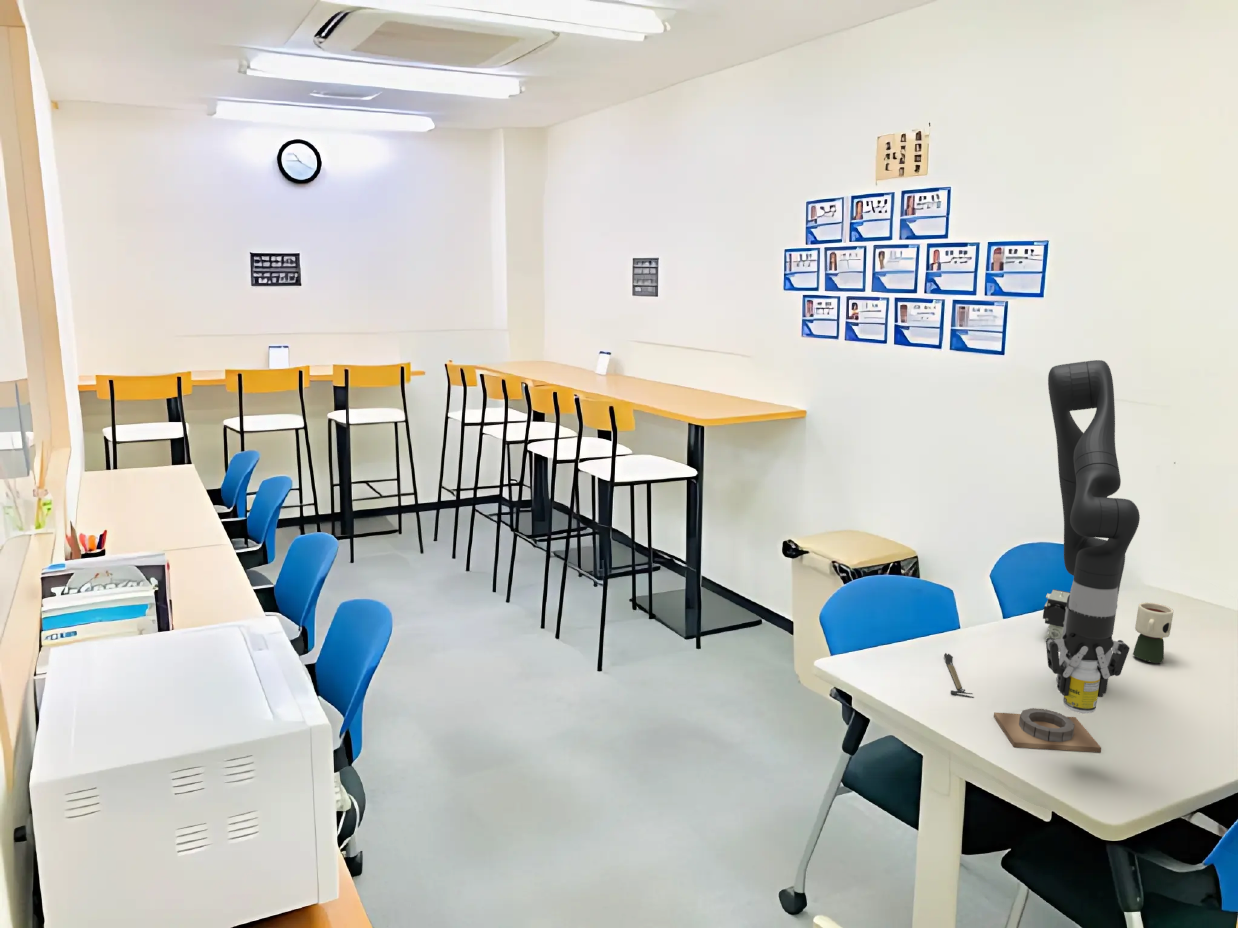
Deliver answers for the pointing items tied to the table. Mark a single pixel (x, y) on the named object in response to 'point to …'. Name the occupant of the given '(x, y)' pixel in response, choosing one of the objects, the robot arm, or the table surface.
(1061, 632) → the pneumatic valve
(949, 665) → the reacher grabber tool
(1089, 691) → the supplement bottle
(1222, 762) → the table surface
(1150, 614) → the character mug
